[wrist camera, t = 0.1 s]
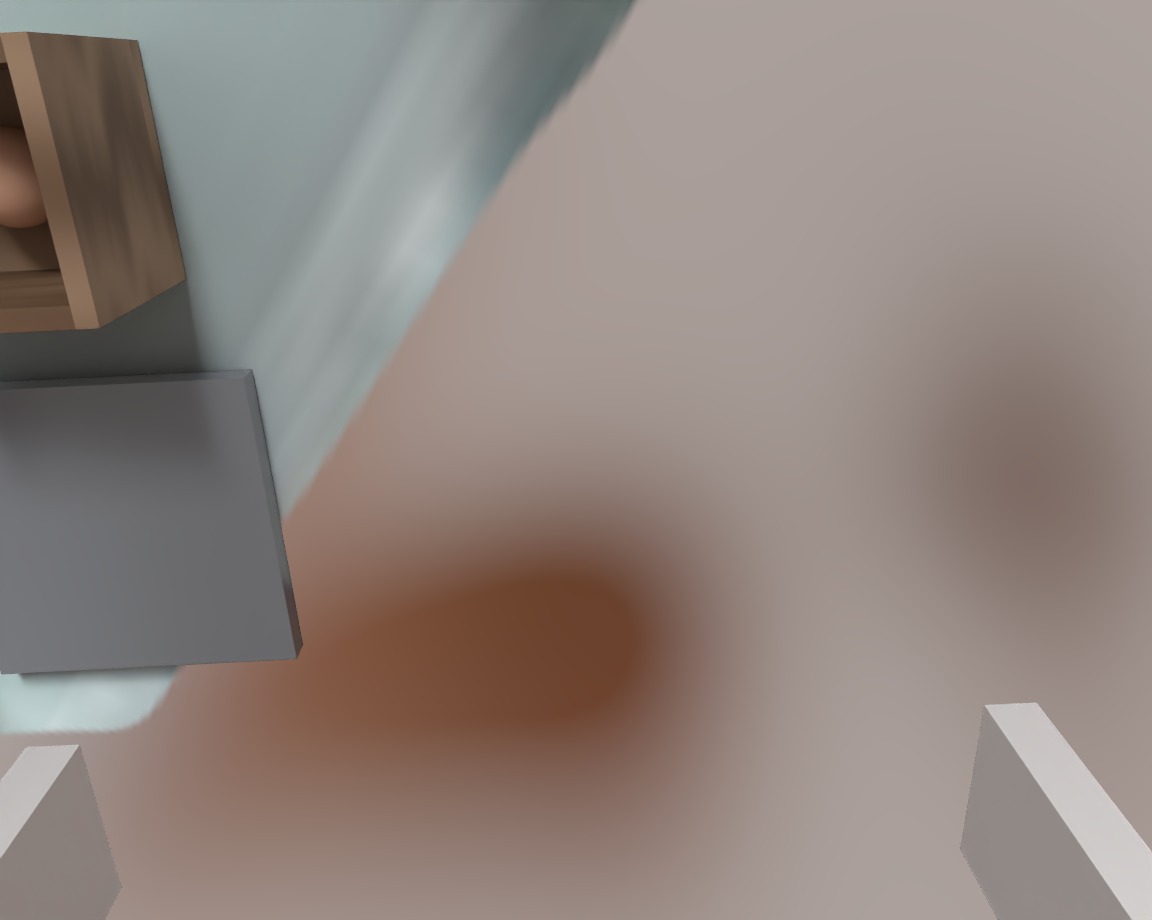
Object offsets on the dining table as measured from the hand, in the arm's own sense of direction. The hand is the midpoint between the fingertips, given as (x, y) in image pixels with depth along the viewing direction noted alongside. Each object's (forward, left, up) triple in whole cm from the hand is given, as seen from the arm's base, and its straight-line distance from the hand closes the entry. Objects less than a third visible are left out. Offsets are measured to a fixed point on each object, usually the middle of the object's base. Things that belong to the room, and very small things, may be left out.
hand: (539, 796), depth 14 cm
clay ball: (-7, -19, -25) cm, 33 cm away
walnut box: (-7, -19, -28) cm, 35 cm away
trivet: (+8, -20, -28) cm, 35 cm away
